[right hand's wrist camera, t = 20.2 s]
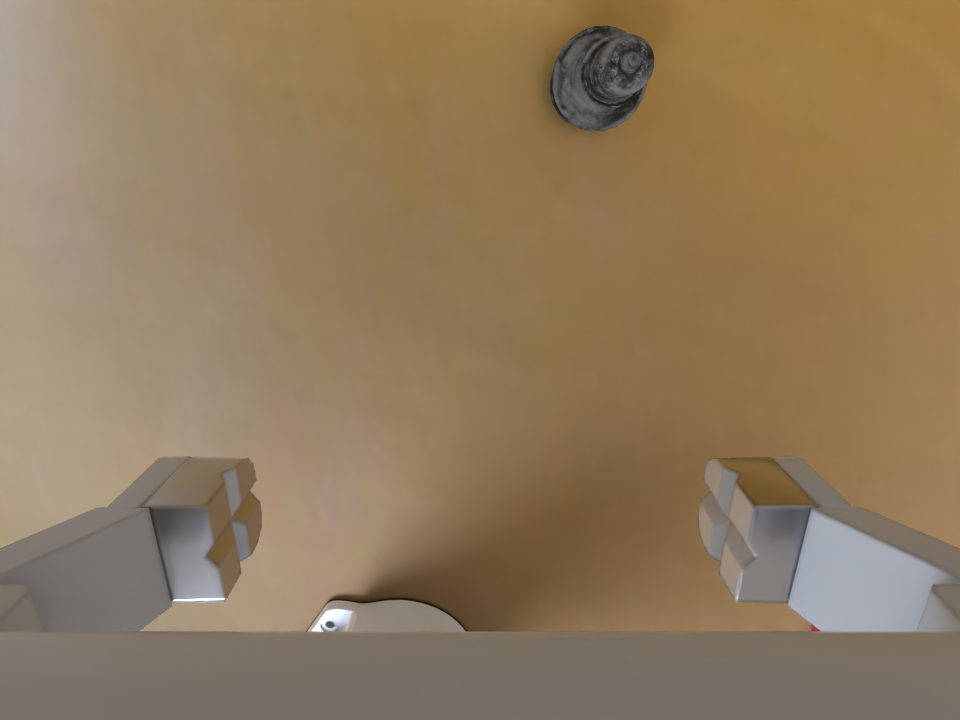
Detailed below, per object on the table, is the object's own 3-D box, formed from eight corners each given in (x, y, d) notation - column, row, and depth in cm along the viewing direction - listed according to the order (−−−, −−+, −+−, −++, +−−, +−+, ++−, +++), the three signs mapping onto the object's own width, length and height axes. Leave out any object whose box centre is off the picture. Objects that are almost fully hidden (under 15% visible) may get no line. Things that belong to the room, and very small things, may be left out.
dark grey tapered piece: (540, 45, 38) (567, 1, 26) (630, 28, 37) (695, -23, 26) (551, 139, 40) (579, 135, 28) (635, 124, 39) (698, 115, 28)
